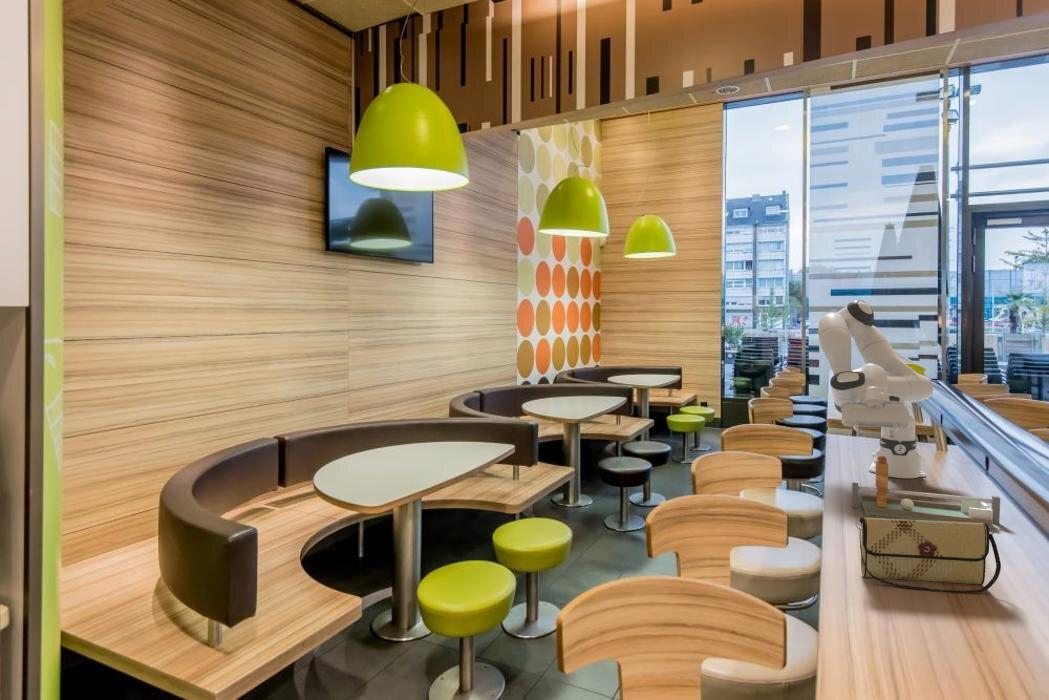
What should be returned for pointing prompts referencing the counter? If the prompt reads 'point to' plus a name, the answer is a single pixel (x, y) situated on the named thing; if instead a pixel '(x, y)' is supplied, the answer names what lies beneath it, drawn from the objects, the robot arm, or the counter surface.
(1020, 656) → the counter surface
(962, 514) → the pitch
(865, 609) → the counter surface
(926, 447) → the counter surface
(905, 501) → the ball
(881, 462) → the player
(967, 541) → the clutch purse
